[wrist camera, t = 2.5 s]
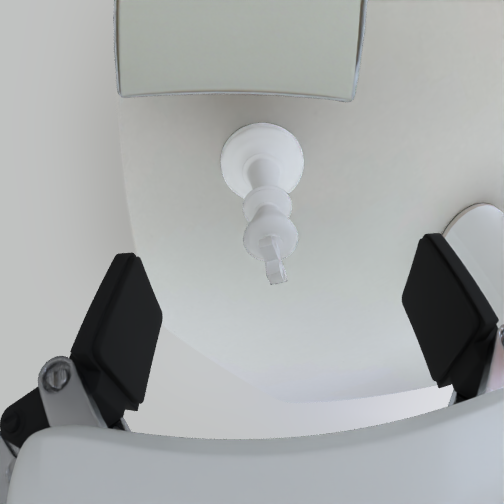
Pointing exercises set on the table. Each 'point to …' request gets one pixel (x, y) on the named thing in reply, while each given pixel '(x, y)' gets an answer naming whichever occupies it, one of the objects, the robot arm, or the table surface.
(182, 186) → the table surface
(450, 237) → the mug
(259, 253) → the chess piece
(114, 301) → the robot arm
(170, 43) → the box
